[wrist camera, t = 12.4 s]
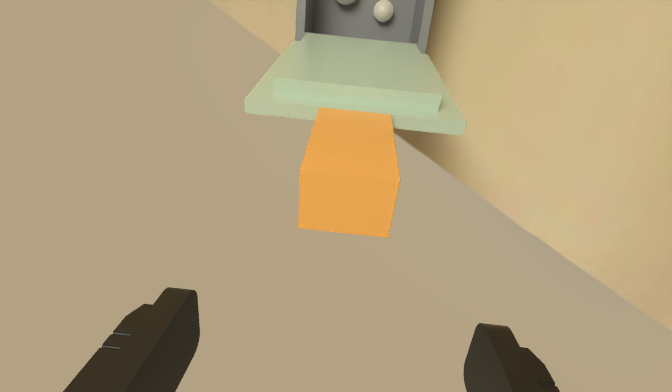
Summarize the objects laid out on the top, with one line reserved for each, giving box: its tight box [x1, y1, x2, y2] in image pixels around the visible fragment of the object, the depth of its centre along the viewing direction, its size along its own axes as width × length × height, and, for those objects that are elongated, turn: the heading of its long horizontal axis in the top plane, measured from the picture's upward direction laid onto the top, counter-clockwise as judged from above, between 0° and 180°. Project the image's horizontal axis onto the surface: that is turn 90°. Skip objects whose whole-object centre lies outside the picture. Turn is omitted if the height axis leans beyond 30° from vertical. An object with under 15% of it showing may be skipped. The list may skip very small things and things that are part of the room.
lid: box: [245, 33, 467, 238], centre depth 25 cm, size 12×23×4 cm
